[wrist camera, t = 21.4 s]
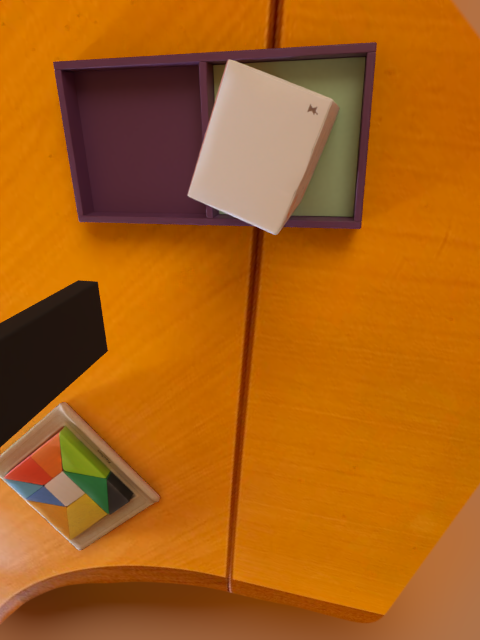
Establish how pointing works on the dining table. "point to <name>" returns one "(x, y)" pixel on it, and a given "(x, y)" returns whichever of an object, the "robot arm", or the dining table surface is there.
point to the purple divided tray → (202, 132)
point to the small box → (261, 146)
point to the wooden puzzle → (74, 478)
